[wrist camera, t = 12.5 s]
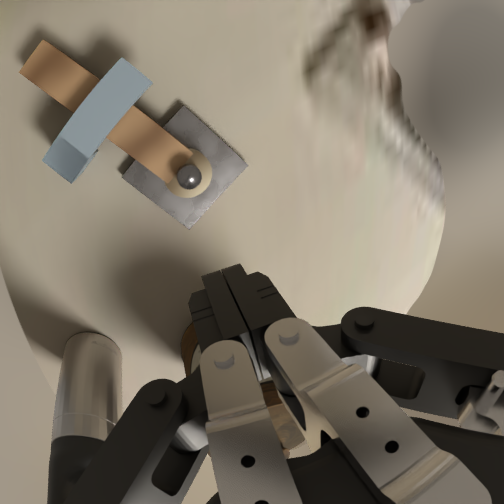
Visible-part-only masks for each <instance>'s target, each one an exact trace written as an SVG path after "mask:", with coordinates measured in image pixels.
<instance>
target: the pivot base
mask: <svg viewBox="0 0 504 504" xmlns="http://www.w3.org/2000/svg"><path fill="white" fill-rule="evenodd" d="M163 128H164V129H165V130H166V131H167V132H169V133H170V134H171V135H172V136H174V137H175V138H176V139H177V140H179V141H180V142H181V143H182V144H184V145H185V146H186V147H187V148H193V149H196V150H198V151H199V152H201V153H202V154H203V155H204V156H205V157H206V158H207V159H208V161H209V162H210V164H211V168H212V178H211V182H210V184H209V186H208V187H207V188H206V190H205V191H203V192H202V193H201V194H199V195H197V196H195V197H191V198H182V197H179V196H176V195H174V194H173V193H172V192H170V191H169V189H168V188H167V187H166V185H165V182H164V180H162V179H161V178H160V177H158V176H157V175H156V174H154V173H153V172H152V171H150V170H149V169H148V168H146V167H145V166H144V165H142V164H141V163H140V162H138V161H137V160H136V159H135V160H134V162H133V163H132V164H131V165H130V167H129V168H128V169H127V170H126V172H125V173H124V174H123V175H122V178H123V179H124V180H126V181H127V182H128V183H129V184H131V185H132V186H133V187H135V188H136V189H137V190H138V191H140V192H141V193H142V194H144V195H145V196H146V197H147V198H149V199H150V200H151V201H153V202H154V203H155V204H157V205H158V206H159V207H160V208H162V209H163V210H164V211H166V212H167V213H168V214H170V215H171V216H172V217H174V218H175V219H176V220H177V221H179V222H180V223H181V224H183V225H184V226H185V227H187V228H188V229H189V230H190V228H191V227H192V226H193V225H194V224H195V223H196V222H197V221H198V219H199V218H200V217H201V216H202V215H203V214H204V213H205V212H206V211H207V209H208V208H209V207H210V206H211V205H212V204H213V203H214V202H215V201H216V200H217V198H218V197H219V196H220V195H221V194H222V193H223V192H224V191H225V190H226V189H227V188H228V187H229V185H230V184H231V183H232V182H233V181H234V180H235V179H236V178H237V177H238V176H239V175H240V174H241V173H242V172H243V171H244V170H245V169H246V167H247V166H248V164H246V163H245V162H244V161H243V160H242V159H241V158H240V157H239V156H238V155H237V154H236V153H235V152H234V151H233V150H232V149H231V148H230V147H229V146H228V145H226V144H225V143H224V142H223V141H222V140H221V139H220V138H219V137H218V136H217V135H216V134H215V133H213V132H212V131H211V130H210V129H209V128H208V127H207V126H206V125H205V124H204V123H203V122H201V121H200V120H199V119H198V118H197V117H196V116H195V115H194V114H193V113H191V112H190V111H189V110H188V109H187V108H186V107H185V106H182V107H181V108H180V109H179V110H178V112H177V113H176V114H175V115H174V116H173V117H172V118H171V119H170V120H169V121H168V122H167V123H166V124H165V126H164V127H163ZM201 180H202V174H201V172H200V170H199V169H198V167H197V166H195V165H194V164H184V165H182V166H181V167H180V168H179V169H178V171H177V181H178V183H179V185H180V186H181V187H182V188H184V189H187V190H191V189H194V188H196V187H197V186H198V185H199V184H200V183H201Z"/></svg>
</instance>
